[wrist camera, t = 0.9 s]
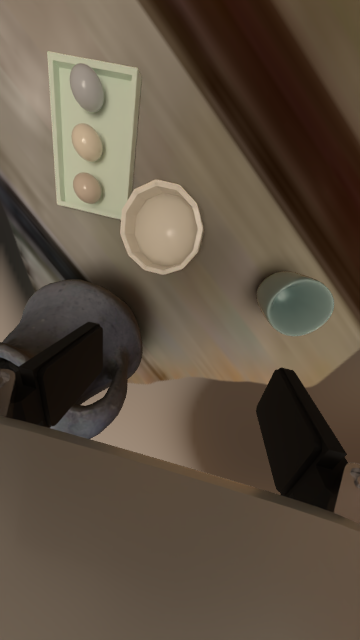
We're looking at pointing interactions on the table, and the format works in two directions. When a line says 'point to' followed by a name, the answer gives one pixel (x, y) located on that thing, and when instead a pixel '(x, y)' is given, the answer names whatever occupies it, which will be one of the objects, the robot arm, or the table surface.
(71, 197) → the tray
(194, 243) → the bowl
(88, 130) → the pebble
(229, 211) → the table surface
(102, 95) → the pebble
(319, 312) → the cup
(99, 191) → the pebble
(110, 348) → the pitcher
